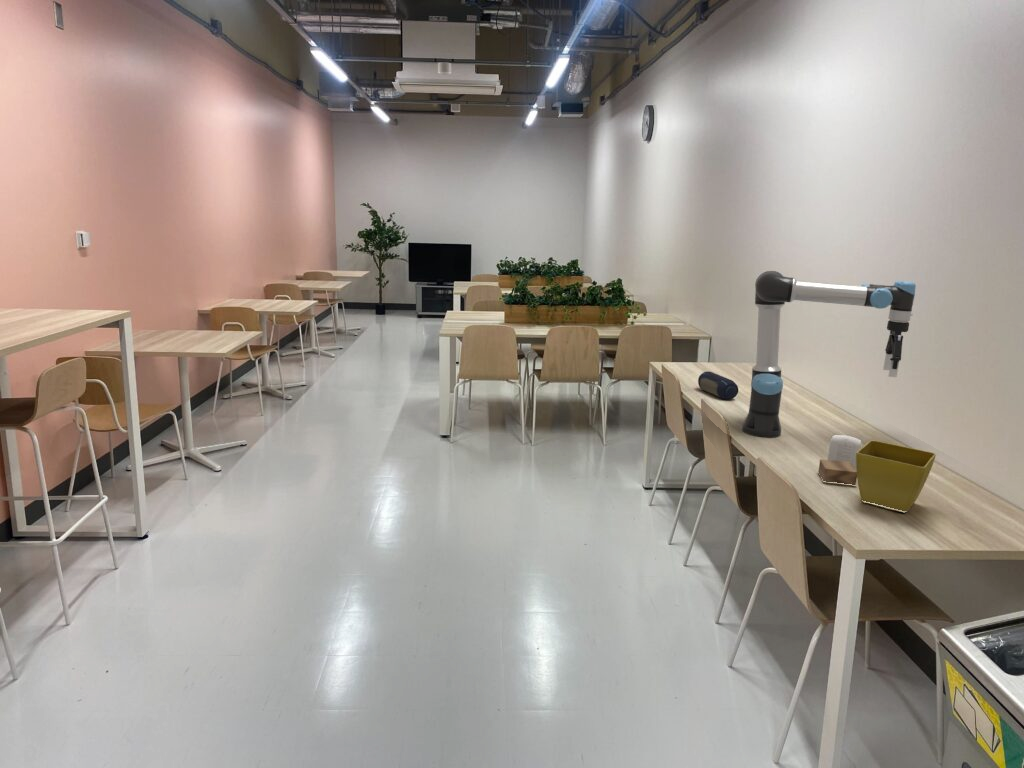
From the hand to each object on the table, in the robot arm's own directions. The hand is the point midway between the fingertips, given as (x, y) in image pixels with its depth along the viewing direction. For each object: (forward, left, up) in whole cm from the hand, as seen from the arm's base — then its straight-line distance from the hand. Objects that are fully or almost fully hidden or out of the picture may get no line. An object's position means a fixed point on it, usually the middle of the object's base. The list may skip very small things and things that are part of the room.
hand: (889, 373), depth 286 cm
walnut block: (-27, -58, -27) cm, 69 cm away
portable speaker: (-63, +49, -27) cm, 84 cm away
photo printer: (-23, -46, -27) cm, 58 cm away
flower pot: (-15, -75, -27) cm, 81 cm away
